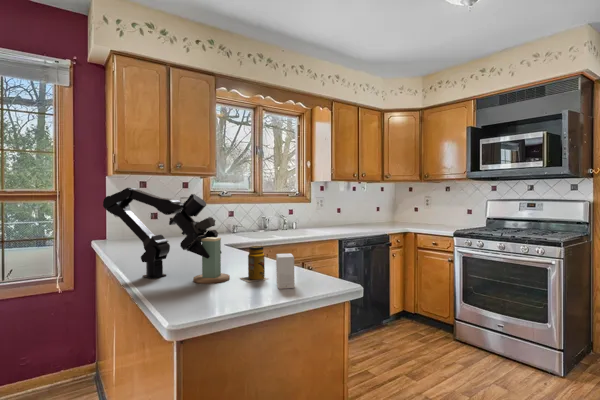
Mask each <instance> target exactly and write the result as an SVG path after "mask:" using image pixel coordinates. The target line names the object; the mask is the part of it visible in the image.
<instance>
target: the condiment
mask: <svg viewBox="0 0 600 400" xmlns="http://www.w3.org/2000/svg"><path fill="white" fill-rule="evenodd" d="M247 264H248V265H247V266H248V267H247V270H248V271H247V272H248V273H247V274H248V276H246V277H244V276H243V277H240V280H243V282H244V281H245V282H246V283H251V282H259V281H265V280H269V278H267V277H265V276H266V275H265V274H266V273H265V267H266V266H265V253H264V246H263V245H262V246H261V245H252V246H249V248H248V255H247Z"/></svg>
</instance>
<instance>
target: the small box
mask: <svg viewBox="0 0 600 400" xmlns="http://www.w3.org/2000/svg"><path fill="white" fill-rule="evenodd" d="M275 259H276V262H275V263H276V264H275V265H276V266H275V268H276V272H275V273H276V286H277V289H279V290H283V289H295V286H296V285H295V282H296V281H295V256H294V255H293V254H292V253H276V254H275Z"/></svg>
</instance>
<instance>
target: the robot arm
mask: <svg viewBox="0 0 600 400" xmlns="http://www.w3.org/2000/svg"><path fill="white" fill-rule="evenodd" d="M133 201H136V202H140V203H142V204H145V205H147V206H148V205H149V206H151V207H153V208H155V209H156V210H157V211H158V212H159V213H162V214H163V215H166V216H170V215H171V216H172V215H173V216H172V217H169V221H168V222H169V223H168V225H169V226H174V225H177V226H178V228H179V229H180V230H181V231H182V232H181V234H182V236H185V237H184V238H183V239H182V240H181V242H180V245H179V246H180V247H181V249H182V250H183V251H187V252H191V253H193V254H196V255H199V256H200V257H202V256H203V257H205V258H207V259H208V258H209V257H210V256H209V254H208V253H207V251H206V250H205V248H204V247H203V246H202V239H203V238H207V237H217V238H218V234H219V232H218V231H217V230H216V229H209V228H212V227H215V226H216V219H214V217H212V216H208V217H206V218H204V219H203V220H201V221H198V220H197V221H195V219H193V217H198V215H199V214H200V213H201V212H202V211H203V210H204V209H205V208H206V206H207V202H206V201H205V200H204V198H203V199H202V198H201V197H200V196H198V195H197V194H195V193H191V194H190V195H189V197H188V198H187V199H186V200H185V201H184V202H181V201H180V199H179V200H178V199H175V198H168V197H160V196H157V195H155V194H152V193H149V192H146V191H143V190H140V189H138V188H136V187H126V188H124V189H123V190H120V191H119V192H115V193H112V194H111V195H107V196H105V197H104V199H103V201H102V203H103V204H102V206H103V207H102V208H104V210H105V211H107V212H108V213H110V214H111V215H113V216H116V217H117V218H119V219H120V220H121V221H122V222H124V224H125V225H126V226H127V227H128V228H129V230H131V232H133V234H135V236H136V237H138V239H139V240H140V241H141V242H142V245H143V250H144V252H143V253H142V254H141V256H140V260H141V262H142V263H145V266H146V268H145V271H146V272H145V273H146V274H142V278H147V279H156V278H162V277H166V276H167V274H166V273H164V271H163V270H164V268H163V265H164V264H163V263H164V262H163V260H165V259H167V257H168V254H169V253H170V249H171V245H170V244H169V240H167V239H166V238H165V237H164V235H162V234H156V235H155V234H154V232H152V231H151V230H150V228H148V227H147V226H146V225H145V223H143V221H142V220H141V219H139V217H138V216H137V215H136V214H135V213H134V212H133V211H132V210H131V206H130V204H131V203H132V202H133ZM208 229H209V230H208ZM222 252H223V251H221V254H222Z"/></svg>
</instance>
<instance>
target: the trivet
mask: <svg viewBox="0 0 600 400" xmlns="http://www.w3.org/2000/svg"><path fill="white" fill-rule="evenodd" d="M230 279H231V277H230V275H229V274H228V273H223V272H221V275H220V276H218V277H216V278H202V273H201V274H198V275H195V276H193V283H196V284H203V285H205V284H206V285H207V284H209V285H212V284H213V285H214V284H221V283H224V282H228V281H229V280H230Z"/></svg>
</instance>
